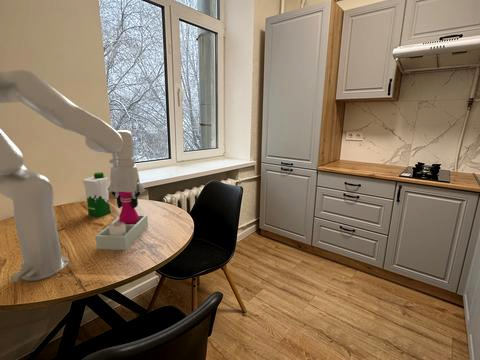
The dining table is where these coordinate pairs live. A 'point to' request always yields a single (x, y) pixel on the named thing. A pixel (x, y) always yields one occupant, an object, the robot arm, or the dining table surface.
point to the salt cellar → (117, 229)
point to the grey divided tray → (121, 241)
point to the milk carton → (97, 195)
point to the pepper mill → (127, 209)
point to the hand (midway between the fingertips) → (127, 206)
